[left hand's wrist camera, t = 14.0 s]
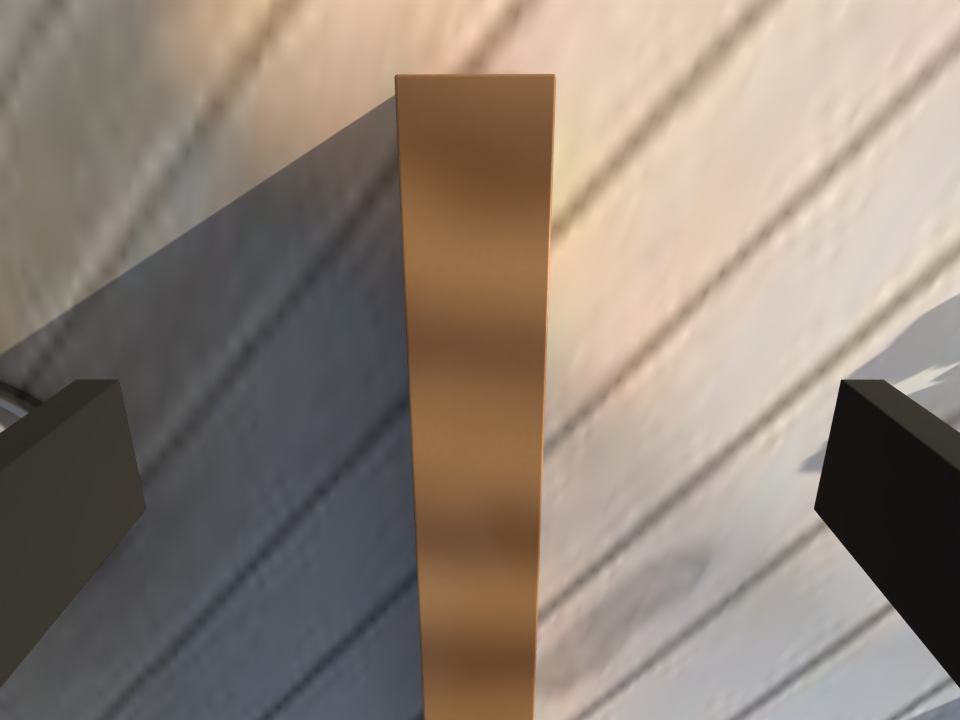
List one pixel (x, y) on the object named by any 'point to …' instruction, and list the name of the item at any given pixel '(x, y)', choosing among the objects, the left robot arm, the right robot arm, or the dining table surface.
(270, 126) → the dining table surface
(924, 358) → the dining table surface
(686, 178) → the dining table surface
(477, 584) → the beam
